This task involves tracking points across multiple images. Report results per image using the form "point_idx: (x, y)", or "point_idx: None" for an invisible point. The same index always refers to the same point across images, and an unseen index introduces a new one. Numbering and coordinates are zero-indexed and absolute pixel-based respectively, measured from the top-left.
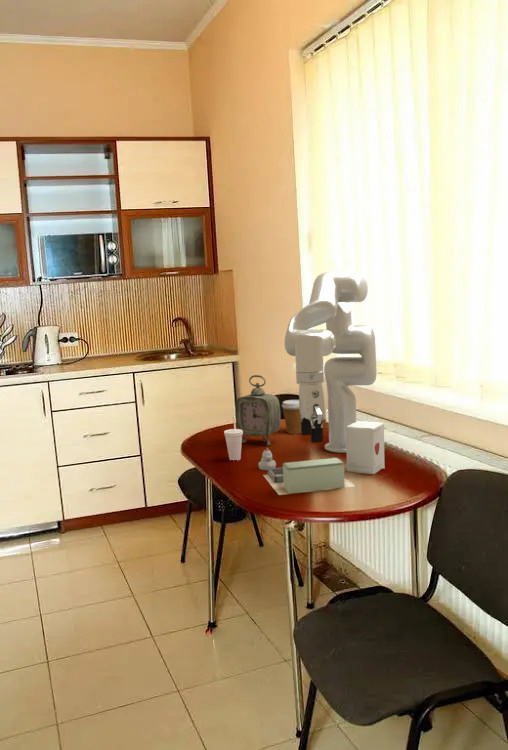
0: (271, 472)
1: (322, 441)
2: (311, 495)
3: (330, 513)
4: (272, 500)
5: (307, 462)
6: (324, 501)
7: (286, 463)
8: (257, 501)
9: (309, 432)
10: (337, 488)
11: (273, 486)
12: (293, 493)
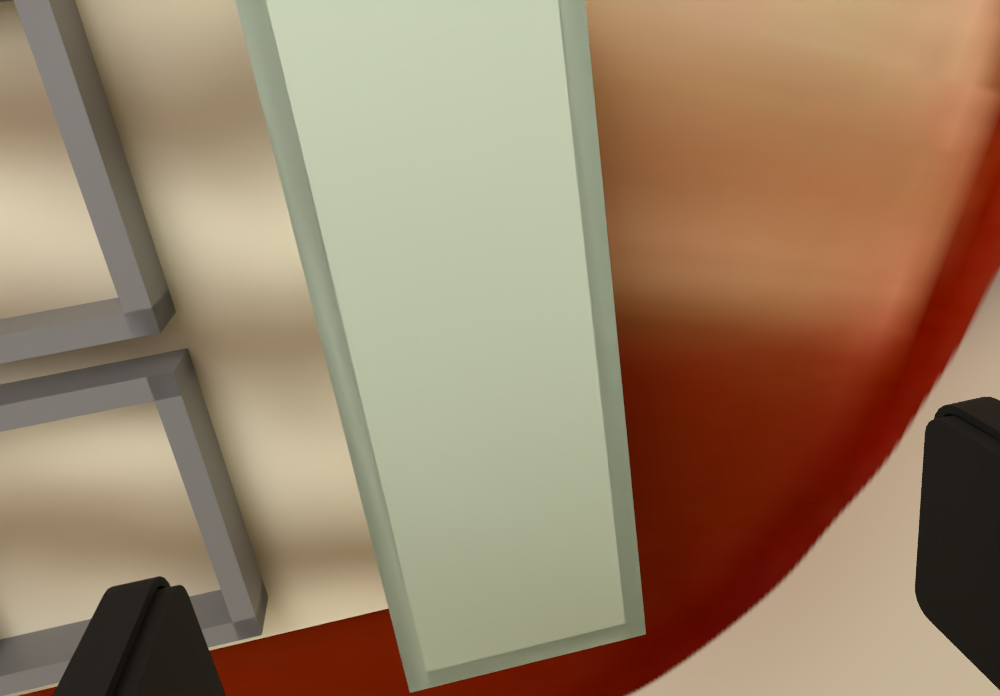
0: None
1: (985, 402)
2: None
3: (991, 201)
4: None
5: (446, 434)
6: (727, 211)
7: (440, 655)
8: (595, 664)
9: (192, 676)
10: None
11: (369, 603)
12: None
